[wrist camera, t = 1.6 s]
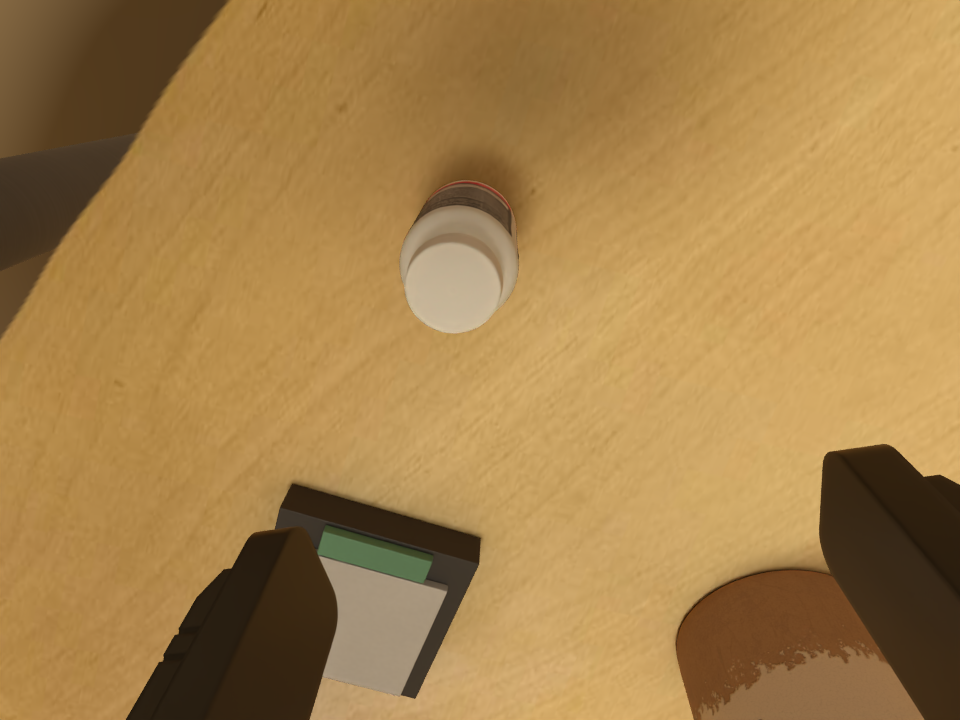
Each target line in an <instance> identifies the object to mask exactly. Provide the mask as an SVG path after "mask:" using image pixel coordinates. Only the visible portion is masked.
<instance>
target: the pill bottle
mask: <svg viewBox="0 0 960 720" xmlns="http://www.w3.org/2000/svg"><path fill="white" fill-rule="evenodd" d="M399 263H400V274H401V278H402V282H403V284H404V287H405V296H406V299H407V302H408V304H409V306H410V309H411V310H412V312H413V313H414V314H415V316H416V317H417V318H418V319H419V320H420V321H422V322H423V323H424V324H426V325H427V326H429V327H431V328H433V329H434V330H437V331H440V332H444V333H464V332H468V331H471V330H474V329H476V328H478V327H480V326H481V325H483V324H484V323H485V322H486V321H487V320H488V319H489V318H490V317H491V316H492V315H493V313H494V312H495V311H497V310H498V309H499V308H500V307H501V306H502V305H503V304H504V303H505V302H506V301H507V299H508V298H509V296H510V295H511V293H512V291H513V289H514V287H515V284H516V281H517V277H518V270H519V254H518V245H517V229H516V222H515V218H514V214H513V211H512V209H511V207H510V205H509V204H508V202H507V201H506V199H505V198H504V197H503V196H502V195H501V194H500V193H499V192H498V191H496V190H495V189H494V188H492V187H491V186H489V185H486V184H484V183H481V182H478V181H472V180H459V181H455V182H451V183H449V184H446V185H444V186H442V187H441V188H439V189H438V190H437V191H436V192H434V193H433V194H432V195H431V196H430V198H429V199H428V200H427V201H426V203H425V205H424V206H423V208H422V210H421V212H420V213H419V215H418V217H417V219H416V220H415V222H414V224H413V225H412V227H411V228H410V230H409V232H408V234H407V235H406V237H405V239H404V242H403V245H402V249H401V253H400V262H399Z"/></svg>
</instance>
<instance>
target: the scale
mask: <svg viewBox="0 0 960 720" xmlns="http://www.w3.org/2000/svg"><path fill="white" fill-rule="evenodd" d="M296 526H301V527H303V528H304V529H305V530H306V531H307V532H308V534H309V536H310V538H311V540H312V543H313V545H314V547H315V549H316V551H317V554H318V556H319V558H320V560H321V562H322V565H323V567H324V569H325V571H326V573H327V576H328V578H329V580H330V582H331V584H332V587H333V589H334V591H335V595H336V599H337V606H338V621H337V628H336V632H335V636H334V639H333V643H332V646H331V649H330V653H329V656H328V659H327V663H326V666H325V669H324V673H323V676H322V677H324V678H328V679H332V680H336V681H340V682H344V683H348V684H352V685H356V686H360V687H364V688H368V689H372V690H376V691H380V692H384V693H388V694H392V695H396V696H400V695H403V696H407V697H410V698H414V699H415V698H416V696H417V694H418V692H419V690H420V688H421V686H422V684H423V682H424V679H425V677H426V675H427V673H428V671H429V669H430V667H431V665H432V663H433V660H434V658H435V656H436V654H437V652H438V650H439V648H440V646H441V644H442V641H443V639H444V637H445V635H446V633H447V631H448V629H449V627H450V625H451V622H452V620H453V618H454V616H455V614H456V612H457V610H458V608H459V606H460V603H461V601H462V599H463V597H464V595H465V593H466V591H467V589H468V587H469V584H470V582H471V580H472V578H473V576H474V574H475V572H476V570H477V568H478V565H479V557H480V538H478V537H474V536H471V535H467V534H464V533H461V532H457V531H454V530H450V529H447V528H443V527H440V526H436V525H433V524H429V523H426V522H422V521H419V520H416V519H412V518H409V517H405V516H402V515H398V514H395V513H391V512H388V511H384V510H381V509H378V508H374V507H371V506H367V505H364V504H360V503H357V502H353V501H350V500H346V499H343V498H340V497H336V496H333V495H329V494H326V493H322V492H319V491H315V490H312V489H308V488H305V487H301V486H298V485H295V484H292V485H291V487H290V489H289V491H288V493H287V495H286V497H285V499H284V501H283V503H282V505H281V507H280V510H279V514H278V518H277V522H276V526H275V529H282V528H289V527H296Z"/></svg>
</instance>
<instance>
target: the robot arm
mask: <svg viewBox="0 0 960 720" xmlns="http://www.w3.org/2000/svg"><path fill="white" fill-rule="evenodd" d="M819 536H820V543H821V548H822V551H823V555H824V558H825V561H826V563H827V565H828V568H829V570H830V572H831V574H832V575H833V577H834V579H835V580H836V582H837V583H838V585H839V587H840V588H841V590H842V591H843V593H844V594H845V596H846V598H847V599H848V601H849V602H850V604H851V605H852V607H853V608H854V610H855V612H856V613H857V615H858V616H859V618H860V619H861V621H862V623H863V624H864V626H865V627H866V629H867V630H868V632H869V634H870V635H871V637H872V638H873V640H874V641H875V643H876V644H877V646H878V648H879V649H880V651H881V652H882V654H883V655H884V657H885V659H886V660H887V662H888V663H889V665H890V666H891V668H892V670H893V671H894V673H895V674H896V676H897V677H898V679H899V681H900V682H901V684H902V685H903V687H904V688H905V690H906V691H907V693H908V695H909V696H910V698H911V699H912V701H913V702H914V704H915V706H916V707H917V709H918V710H919V712H920V713H921V715H922V717H923V718H924V720H960V485H959V484H957V483H955V482H953V481H951V480H949V479H948V478H946V477H944V476H942V475H934V476H927V477H923V476H922V475H921V474H920V473H919V472H918V471H917V470H916V469H915V468H914V467H913V466H912V465H911V464H910V463H909V462H908V461H907V460H906V459H905V458H904V457H903V456H902V455H901V454H900V453H899V452H898V451H897V450H896V449H895V448H893V447H892V446H890V445H887V444H881V445H874V446H867V447H860V448H853V449H846V450H839V451H832V452H828V453H827V454H826V455H825V457H824V460H823V470H822V488H821V506H820V524H819ZM337 621H338V606H337V599H336V595H335V591H334V589H333V587H332V584H331V582H330V580H329V578H328V576H327V573H326V571H325V569H324V567H323V565H322V562H321V560H320V558H319V556H318V554H317V551H316V549H315V547H314V545H313V543H312V540H311V538H310V536H309V534H308V532H307V531H306V530H305V529H304V528H303V527H301V526H296V527H289V528H282V529H275V530H268V531H261V532H256V533H253V534H252V535H251V536H250V537H249V538H248V540H247V541H246V543H245V545H244V547H243V549H242V550H241V552H240V554H239V556H238V558H237V560H236V561H235V563H234V565H233V567H232V569H224V570H223V571H222V572H221V573H220V574H219V575H218V576H217V577H216V578H215V579H214V580H213V581H212V582H211V583H210V584H209V585H208V586H207V587H206V588H205V589H204V591H203V592H202V593H201V594H200V595H199V596H198V597H197V598H196V600H195V601H194V603H193V605H192V606H191V608H190V610H189V612H188V613H187V615H186V617H185V619H184V620H183V622H182V624H181V625H180V627H179V634H178V635H175V636H174V637H173V639H172V641H171V643H170V644H169V646H168V648H167V650H166V651H165V653H164V655H163V656H164V660H163V662H159V663H158V665H157V667H156V669H155V670H154V672H153V674H152V675H151V677H150V679H149V681H148V682H147V684H146V686H145V687H144V689H143V691H142V693H141V694H140V696H139V698H138V700H137V701H136V703H135V705H134V706H133V708H132V710H131V712H130V713H129V715H128V717H127V718H126V720H309V719H310V716H311V713H312V709H313V706H314V703H315V699H316V696H317V693H318V689H319V686H320V683H321V679H322V676H323V673H324V669H325V666H326V663H327V659H328V656H329V653H330V649H331V646H332V643H333V639H334V636H335V632H336V628H337Z"/></svg>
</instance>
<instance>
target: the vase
mask: <svg viewBox="0 0 960 720" xmlns="http://www.w3.org/2000/svg"><path fill="white" fill-rule="evenodd" d="M676 651H677V659H678V663H679V668H680V672H681V675H682V679H683V682H684V686H685V689H686V693H687V696H688V700H689V704H690V707H691V711H692V714H693V718H694V720H924V718H923V717H922V715H921V713H920V712H919V710H918V709H917V707H916V706H915V704H914V702H913V701H912V699H911V698H910V696H909V695H908V693H907V691H906V690H905V688H904V687H903V685H902V684H901V682H900V681H899V679H898V677H897V676H896V674H895V673H894V671H893V670H892V668H891V666H890V665H889V663H888V662H887V660H886V659H885V657H884V655H883V654H882V652H881V651H880V649H879V648H878V646H877V644H876V643H875V641H874V640H873V638H872V637H871V635H870V634H869V632H868V630H867V629H866V627H865V626H864V624H863V623H862V621H861V619H860V618H859V616H858V615H857V613H856V612H855V610H854V608H853V607H852V605H851V604H850V602H849V601H848V599H847V598H846V596H845V594H844V593H843V591H842V590H841V588H840V587H839V585H838V583H837V582H836V580H835V579H834V577H833V576H830V575H827V574H823V573H818V572H812V571H802V570H784V571H773V572H767V573H761V574H757V575H753V576H749V577H746V578H743V579H740V580H737V581H735V582H732V583H730V584H728V585H726V586H724V587H722V588H720V589H718V590H716V591H715V592H713V593H711V594H710V595H709V596H707V597H706V598H704V599H703V600H702V601H701V602H700V603H699V604H697V605H696V606H695V607H694V608H693V610H692V611H691V612H690V613H689V614H688V616H687V617H686V619H685V620H684V622H683V624H682V626H681V628H680V631H679V634H678V638H677V645H676Z"/></svg>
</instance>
